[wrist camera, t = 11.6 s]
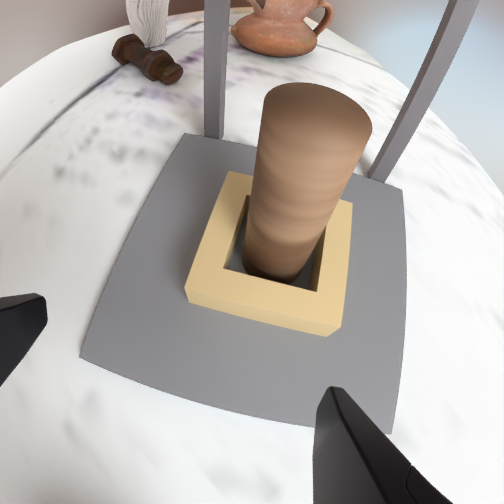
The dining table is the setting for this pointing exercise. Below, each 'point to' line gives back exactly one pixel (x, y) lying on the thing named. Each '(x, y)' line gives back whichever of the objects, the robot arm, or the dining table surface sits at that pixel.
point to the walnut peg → (299, 175)
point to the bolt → (147, 59)
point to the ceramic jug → (281, 27)
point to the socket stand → (261, 290)
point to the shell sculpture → (148, 20)
